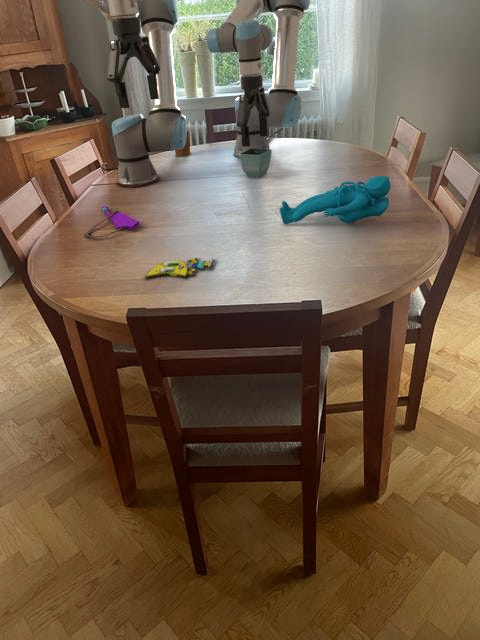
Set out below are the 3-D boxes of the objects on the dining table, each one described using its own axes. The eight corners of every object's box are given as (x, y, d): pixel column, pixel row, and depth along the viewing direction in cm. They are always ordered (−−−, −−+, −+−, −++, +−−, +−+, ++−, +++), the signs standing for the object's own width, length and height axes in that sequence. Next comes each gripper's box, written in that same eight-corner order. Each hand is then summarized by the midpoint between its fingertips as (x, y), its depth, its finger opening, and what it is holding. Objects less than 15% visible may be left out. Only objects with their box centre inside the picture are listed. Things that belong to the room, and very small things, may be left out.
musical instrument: (112, 245, 135) (156, 212, 147) (109, 239, 134) (154, 206, 146) (58, 238, 148) (103, 208, 160) (55, 232, 147) (101, 202, 159)
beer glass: (168, 157, 212) (164, 128, 205) (178, 151, 219) (174, 123, 212) (187, 157, 208) (183, 128, 202) (197, 151, 216) (193, 123, 209)
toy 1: (206, 274, 112) (144, 275, 114) (207, 278, 112) (145, 278, 115) (214, 255, 120) (156, 256, 123) (214, 258, 121) (157, 259, 123)
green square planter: (261, 180, 173) (260, 155, 168) (240, 178, 177) (238, 153, 172) (272, 173, 179) (271, 148, 174) (252, 171, 183) (250, 147, 178)
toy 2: (283, 190, 142) (387, 164, 132) (292, 223, 147) (393, 200, 137) (274, 211, 129) (390, 183, 118) (285, 246, 134) (396, 223, 124)
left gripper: (103, 19, 118) (121, 112, 129) (164, 14, 135) (175, 95, 147) (81, 21, 121) (101, 111, 133) (143, 16, 139) (156, 95, 150)
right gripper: (242, 82, 149) (247, 151, 161) (277, 68, 167) (279, 132, 179) (222, 82, 153) (228, 150, 165) (258, 69, 170) (261, 131, 182)
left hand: (140, 103), depth 140 cm, fingers open, 13 cm apart
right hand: (255, 141), depth 172 cm, fingers open, 13 cm apart
